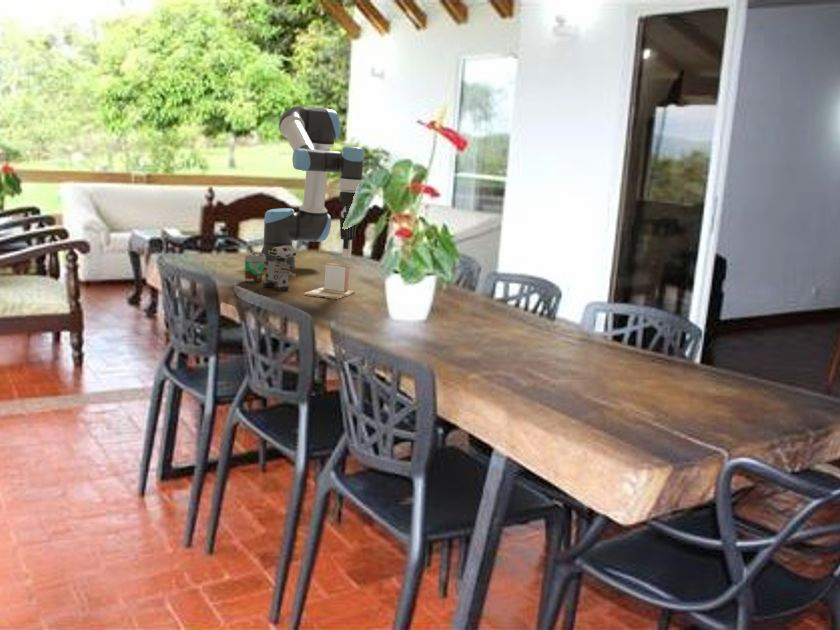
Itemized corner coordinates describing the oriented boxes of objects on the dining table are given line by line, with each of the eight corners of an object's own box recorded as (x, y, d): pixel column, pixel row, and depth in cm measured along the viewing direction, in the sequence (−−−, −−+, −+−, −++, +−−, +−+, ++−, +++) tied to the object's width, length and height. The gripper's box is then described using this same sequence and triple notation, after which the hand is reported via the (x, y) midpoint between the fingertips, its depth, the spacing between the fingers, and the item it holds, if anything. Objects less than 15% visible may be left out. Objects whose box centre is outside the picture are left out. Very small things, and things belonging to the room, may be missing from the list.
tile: (327, 288, 298) (328, 263, 296) (347, 290, 296) (349, 265, 294) (323, 289, 295) (324, 263, 293) (344, 292, 293) (345, 266, 291)
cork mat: (323, 288, 300) (323, 286, 300) (354, 293, 297) (354, 291, 296) (303, 295, 285) (303, 292, 285) (336, 299, 282) (336, 297, 281)
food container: (261, 285, 298) (262, 257, 296) (243, 283, 298) (245, 255, 296) (268, 279, 310) (269, 252, 308) (251, 278, 310) (252, 251, 308)
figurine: (301, 289, 296) (303, 247, 293) (275, 291, 287) (277, 248, 284) (285, 285, 302) (287, 243, 299) (259, 287, 293) (261, 244, 290)
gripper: (353, 192, 289) (348, 260, 293) (367, 192, 301) (363, 257, 305) (333, 190, 291) (329, 258, 295) (348, 190, 303) (344, 255, 307)
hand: (346, 257), depth 300 cm, fingers closed
